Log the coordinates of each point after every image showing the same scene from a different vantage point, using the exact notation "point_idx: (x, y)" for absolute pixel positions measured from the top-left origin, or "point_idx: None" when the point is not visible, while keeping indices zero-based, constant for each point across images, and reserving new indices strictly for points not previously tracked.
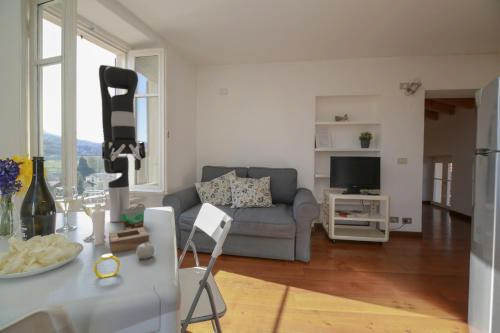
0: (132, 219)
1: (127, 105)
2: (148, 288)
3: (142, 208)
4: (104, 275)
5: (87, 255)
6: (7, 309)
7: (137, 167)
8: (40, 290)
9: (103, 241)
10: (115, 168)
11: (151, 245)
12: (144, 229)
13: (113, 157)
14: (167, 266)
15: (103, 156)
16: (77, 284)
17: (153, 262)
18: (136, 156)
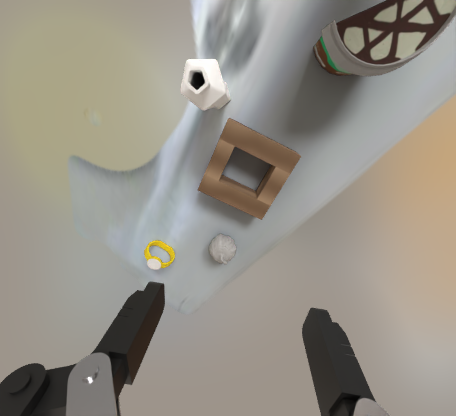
0: (338, 65)
1: None
2: (179, 297)
3: (397, 66)
4: (161, 244)
5: (173, 150)
6: (76, 224)
7: (306, 346)
8: (101, 213)
9: (222, 104)
10: (156, 326)
11: (228, 260)
12: (286, 179)
13: None
14: (220, 283)
15: (4, 410)
16: (134, 234)
17: None
18: None
